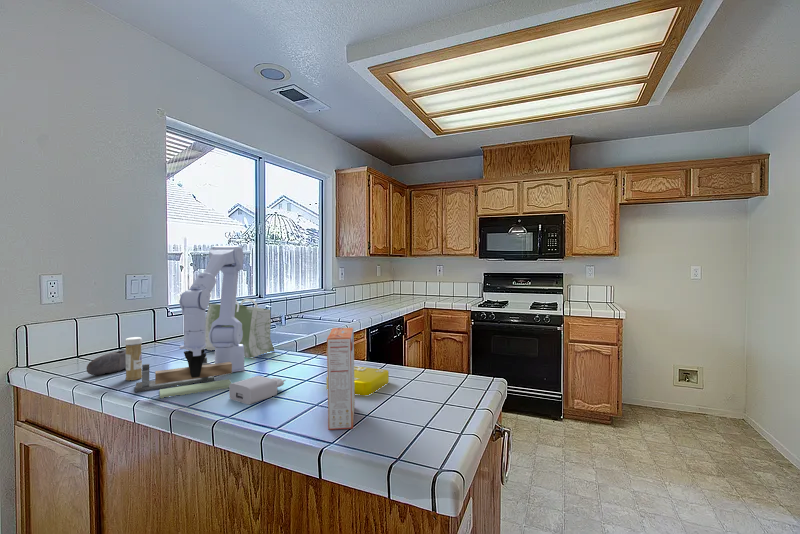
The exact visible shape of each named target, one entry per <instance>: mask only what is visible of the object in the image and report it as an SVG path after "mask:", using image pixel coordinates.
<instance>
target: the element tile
mask: <svg viewBox="0 0 800 534" xmlns="http://www.w3.org/2000/svg"><path fill="white" fill-rule="evenodd" d="M389 373H390V371H389V370H388V369H381V368H374V367H365V366H359V365H354V391H355V394H360V395H369V394H371V393H373V392H375V391H376V390H378V389H379V388H381V387H382V386H384V385H385V384H387V383H388V382H389V383H390V381H389V378H390V376H389ZM326 380H327V377H326ZM327 389H328V382H327V381H326V390H327Z"/></svg>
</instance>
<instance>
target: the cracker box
mask: <svg viewBox="0 0 800 534" xmlns="http://www.w3.org/2000/svg"><path fill="white" fill-rule="evenodd" d="M354 335H355V334H354V327H333V328H331V331H330V332H329V334H328V336H327V338H326V367H327V368H326V370H327V371H326V373H327V374H326V375H327V376H326V378H327V379H326V383H327V382H328V391H327V414H328V415H327V417H328V419H327V429H328V430H329V431H331V430H332V431H334V430H348V429H349V430H350V429H351V430H352V429H354V420H355V419H354V418H355V404H356V403H355V401H356V400H355V398H356V395H355V391H354V366H355V340H354V337H355V336H354Z"/></svg>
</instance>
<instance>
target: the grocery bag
mask: <svg viewBox="0 0 800 534" xmlns="http://www.w3.org/2000/svg"><path fill="white" fill-rule="evenodd" d="M245 302H251V303H253V304H254V306H247V305H243V304H244V303H245ZM220 304H221V303H220ZM220 304H219V303H218V304H217V303H209V306H208V307H207V311H206V347H205V348H204V349H207V350H206V351H212V350H215V347H213V344H211V343H210V341H209V332H210V329H211V325H212V322H214V321H215V320H216V319H218V318H219V314H220ZM271 316H272V315H271V309H268V308H262V307H259V306H258V303H257V302H256V301H255V300H254V299H252V298H244V299H242V300H241V302H240V303H239V301H238V300H237V299H236V306H235V318H236V319H237V320H239V321H240V322H241V323H242V331H243V337H242V340H241V342H240V343H239V344H243V346H244V356H245V357H244V358H248V357H254V358H256V357H255V356H258V355H261V354H264V353H267V352H270V351H275V349H274V345H273V343H272V339H271V330H272V329H271V327H272V326H271V324H272V320H271V318H272V317H271ZM221 327H234V326H221ZM258 357H259V356H258Z"/></svg>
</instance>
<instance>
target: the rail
mask: <svg viewBox="0 0 800 534" xmlns="http://www.w3.org/2000/svg"><path fill="white" fill-rule="evenodd" d="M208 364H209V365H202V368H201V373H200V377H194V378H192V377H191V374H190V368H189V366H187V367H186V366H185V367H178V368H170V369H162V370H155V376H154V377H155V379H154V380H155V384H160V383H168V382H175V381H182V380H189V379H196V378H203V377H210V376H214V377H215V376H216V377H217V376H224V375H230V374H231V375H232V374H233V372H232V363H231V362H225V363H217V364H215V363H211V364H210V363H208Z"/></svg>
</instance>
